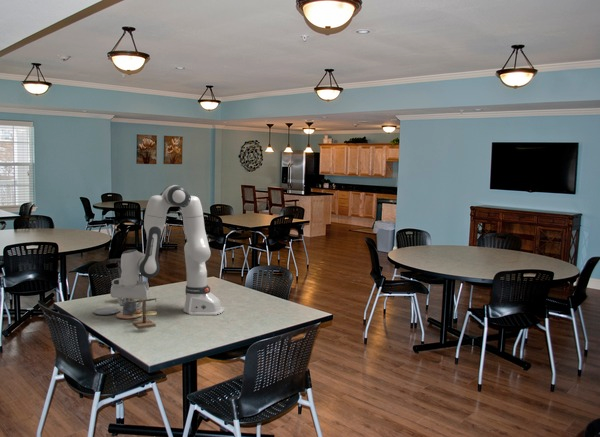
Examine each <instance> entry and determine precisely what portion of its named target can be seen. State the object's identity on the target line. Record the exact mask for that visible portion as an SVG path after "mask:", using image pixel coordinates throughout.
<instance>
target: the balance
mask: <svg viewBox="0 0 600 437" xmlns="http://www.w3.org/2000/svg"><path fill="white" fill-rule="evenodd" d="M151 301H157V298H156V297H155V298H147V299H143V300H138V301H132V316H135V317H137V318H139V317H138V316H140V317H142V319H141V320H140V319H139V320H134V321H132V325H134V326H135V328H138V329H139V330H142V329H148V328H154V327H157V324H156V323H155V322H153V321H152V320H150V319H147V316H148V317H150V316H156V315H158V312H157V311H156V310H154V311H153V310H150V311H147V302H151ZM139 302H141V304H142V305H141V306H142V309H140V308H138V309H137V308H136V310H135V313H133V303H136V304H138V303H139ZM141 310H142V311H141Z"/></svg>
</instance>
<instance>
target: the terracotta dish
mask: <svg viewBox="0 0 600 437" xmlns="http://www.w3.org/2000/svg"><path fill="white" fill-rule="evenodd" d="M116 317H117V318H118V319H123V320H124V319H125V320H126V319H127V320H129V319H137V318H141V316H138V317H135V316H129V315H123V311H119V312H118V313H116Z"/></svg>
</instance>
